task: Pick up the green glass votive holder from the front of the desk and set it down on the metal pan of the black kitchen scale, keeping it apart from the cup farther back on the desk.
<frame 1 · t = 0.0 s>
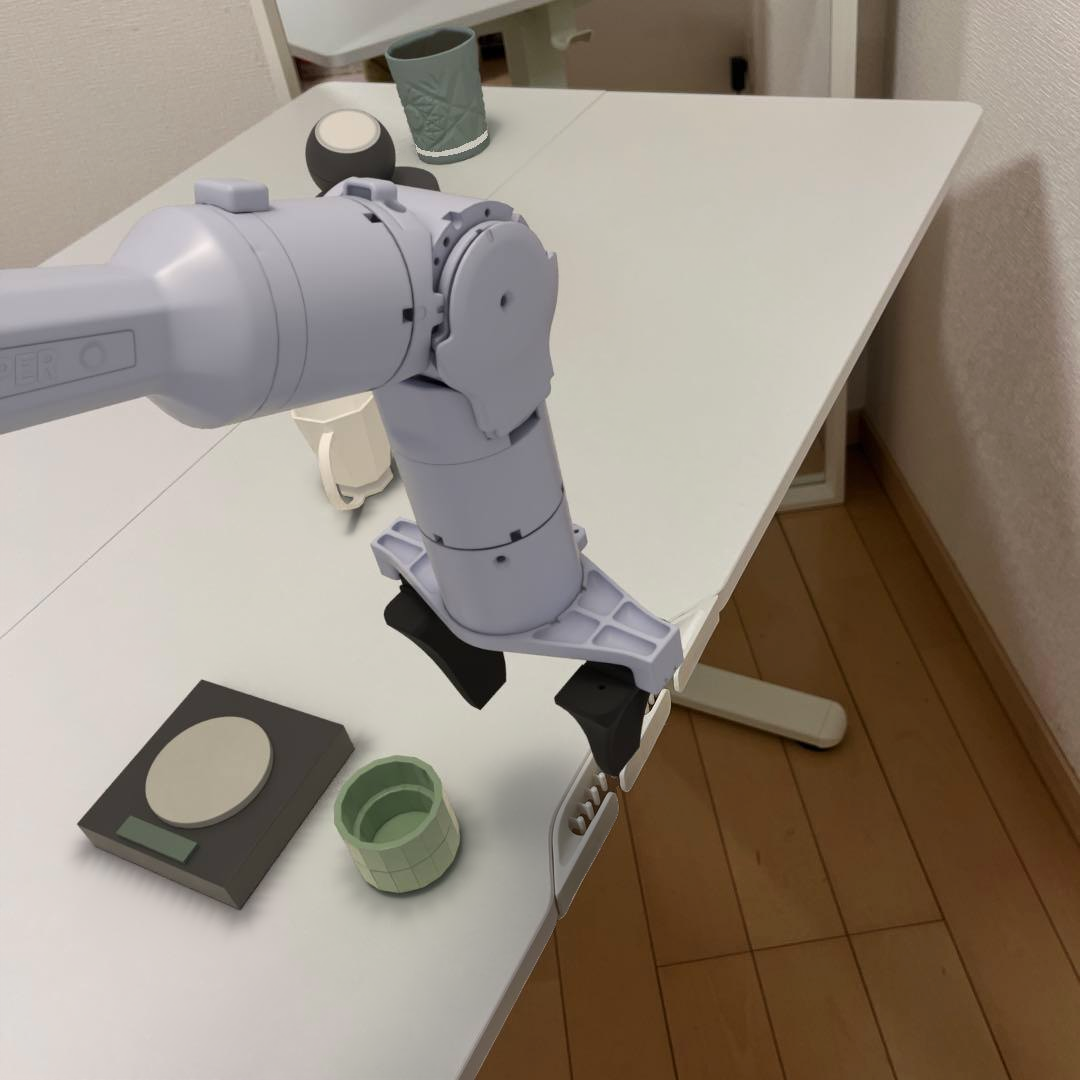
hand: (552, 724, 50), 10 cm above the table, tool pointing down, fingers open, 7 cm apart
scale: (226, 796, 64), on the table
green embossed plant pot: (454, 148, 129), on the table
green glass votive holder: (410, 849, 59), on the table
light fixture: (400, 286, 106), on the table
cup: (362, 494, 83), on the table
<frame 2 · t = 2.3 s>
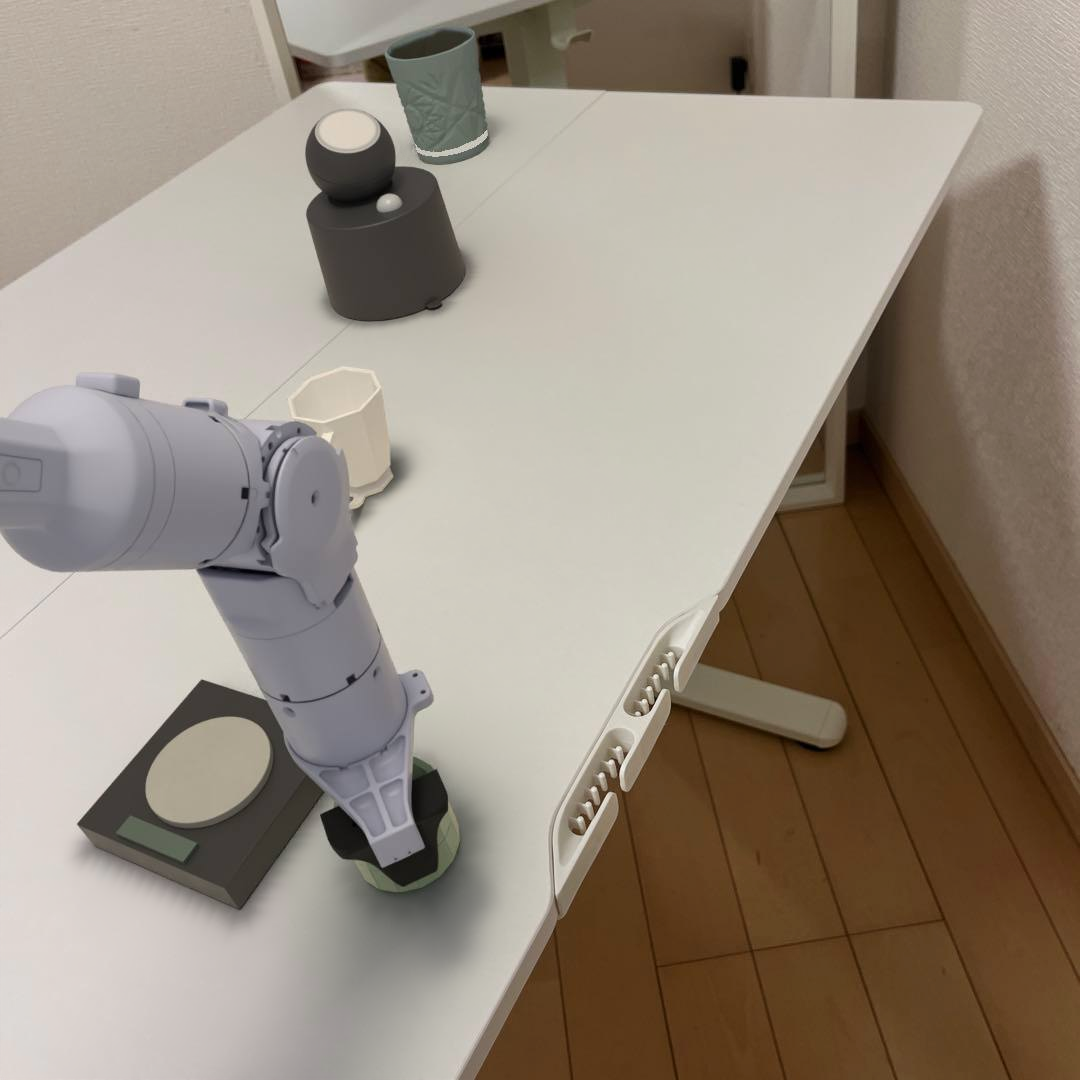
hand: (399, 826, 57), 2 cm above the table, tool pointing down, fingers closed on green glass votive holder, 6 cm apart
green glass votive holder: (410, 849, 59), on the table, touching gripper
everything else where it was.
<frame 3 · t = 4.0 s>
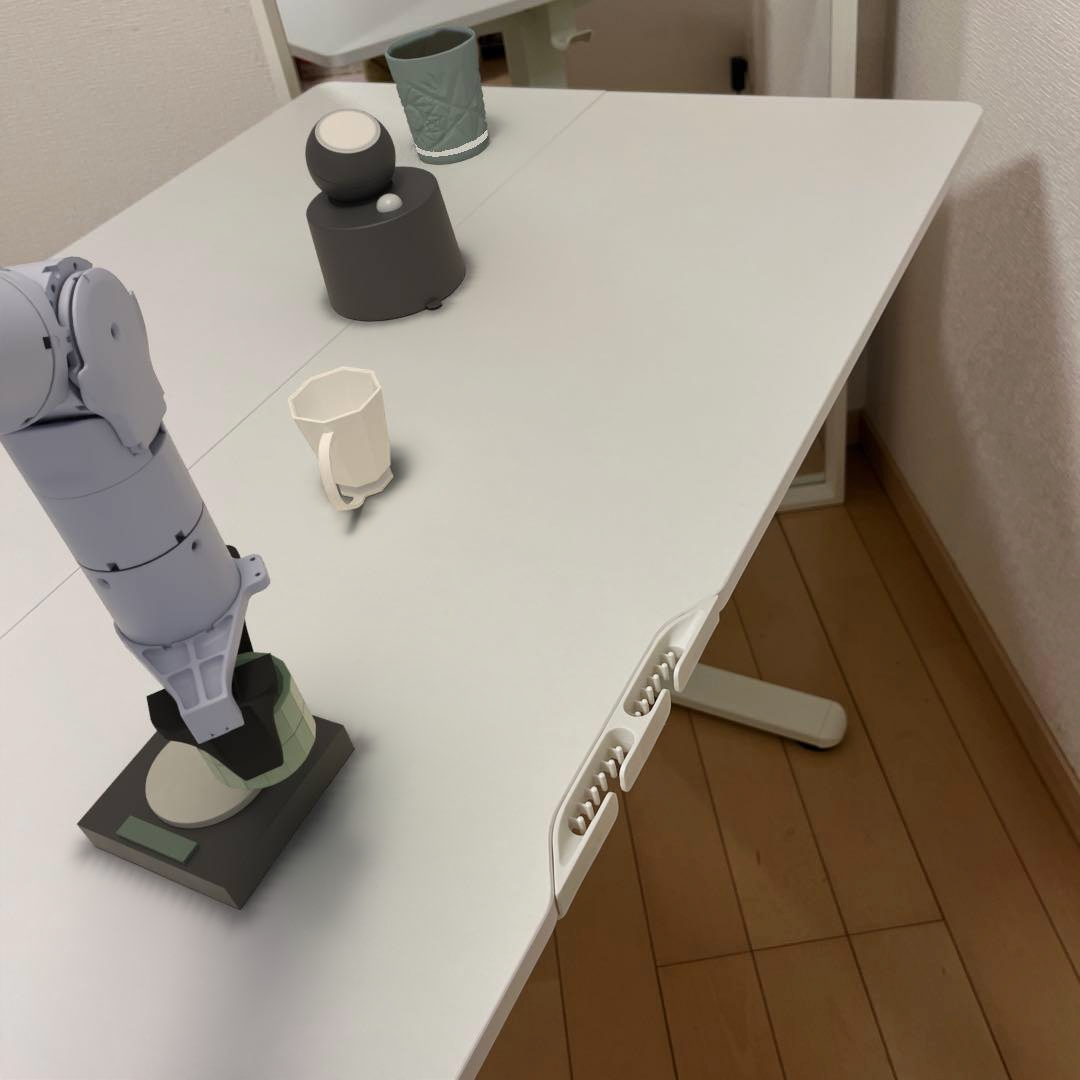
hand: (251, 724, 56), 8 cm above the table, tool pointing down, fingers closed on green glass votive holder, 6 cm apart
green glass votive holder: (266, 750, 57), point 6 cm above the table, touching gripper
everything else where it was.
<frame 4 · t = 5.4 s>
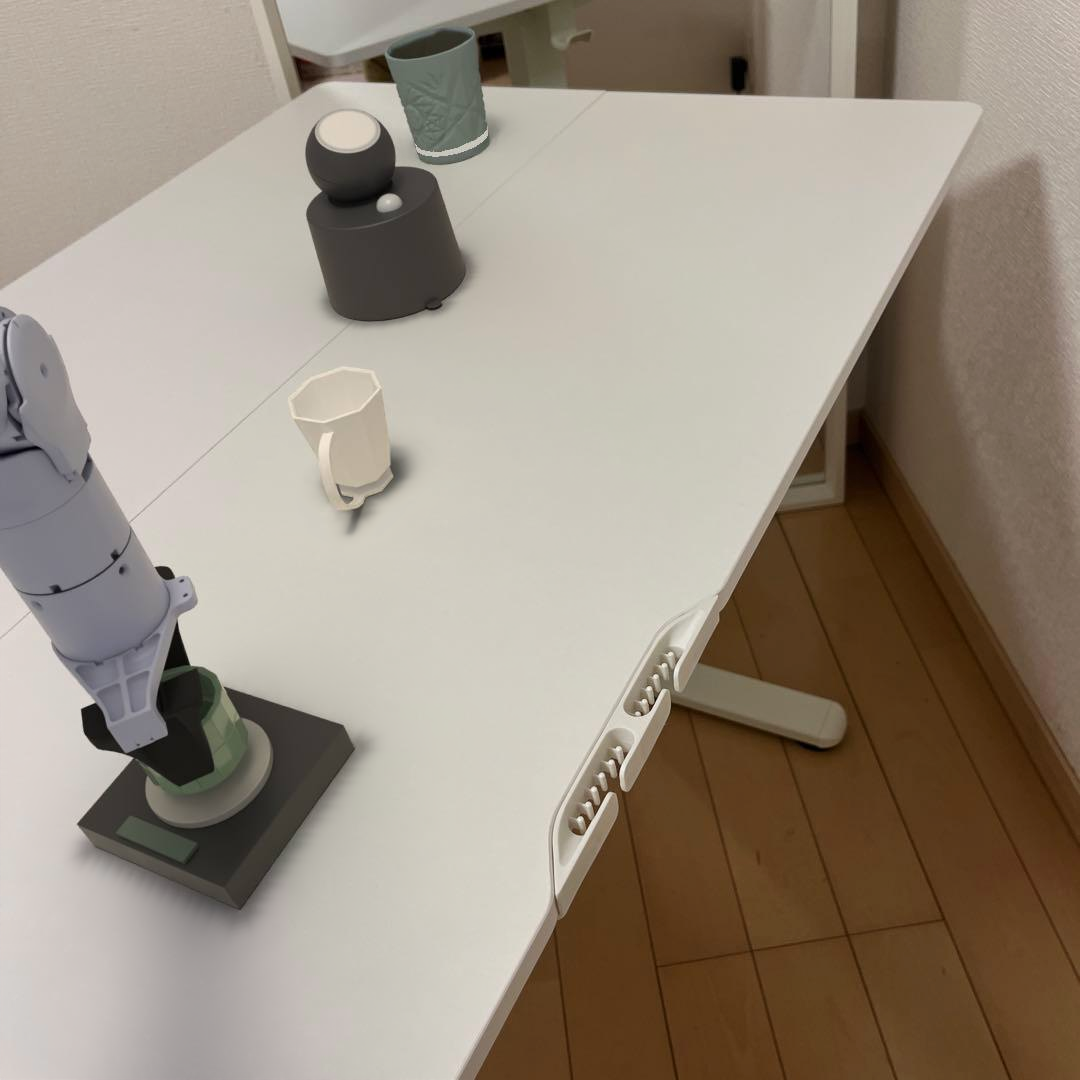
hand: (186, 733, 60), 6 cm above the table, tool pointing down, fingers closed on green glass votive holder, 6 cm apart
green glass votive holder: (202, 757, 61), point 4 cm above the table, touching gripper
everything else where it was.
when the fingers open (5 cm above the table, at t = 6.2 s): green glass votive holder stays where it is, resting on scale.
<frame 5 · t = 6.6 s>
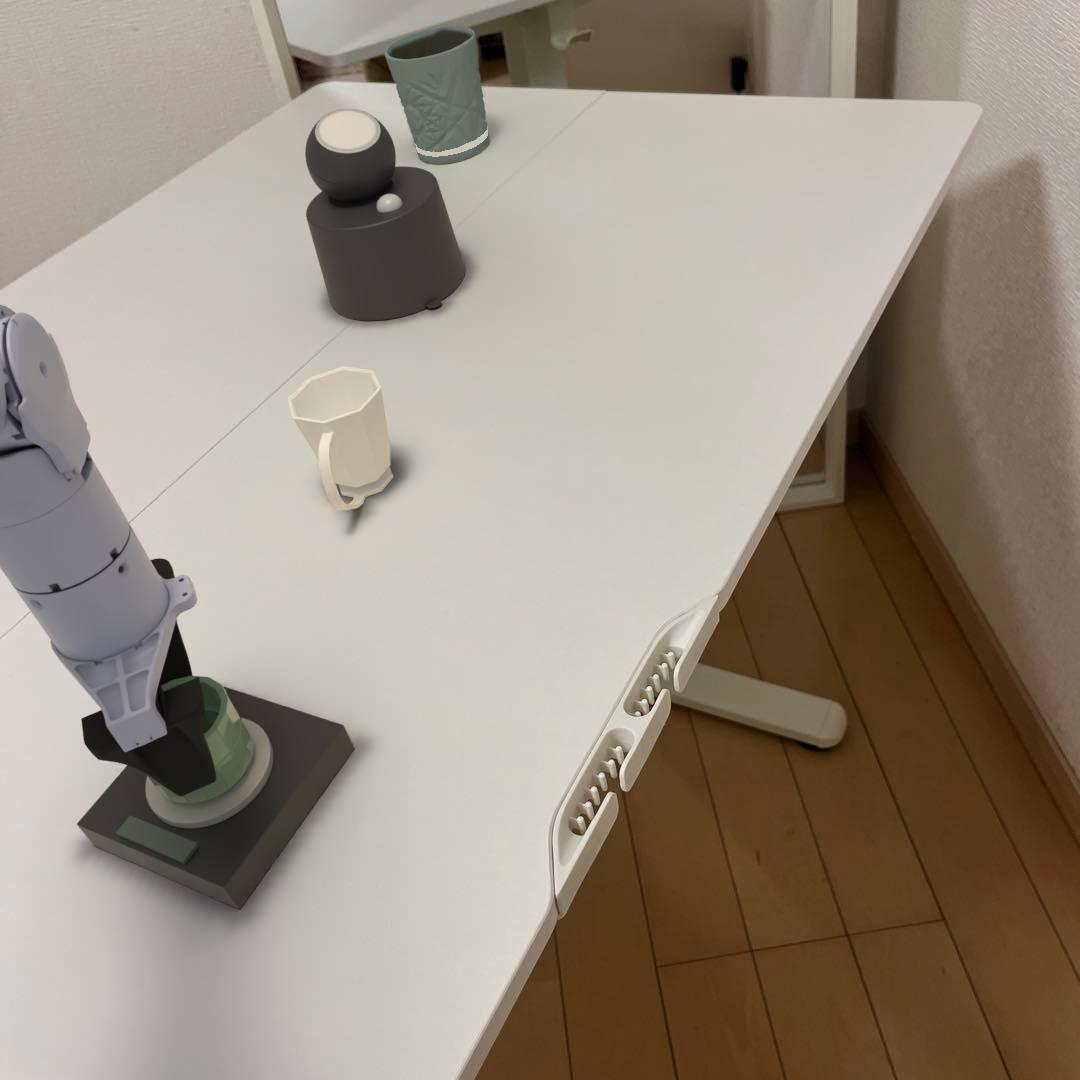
hand: (185, 733, 60), 6 cm above the table, tool pointing down, fingers open, 7 cm apart
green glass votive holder: (208, 766, 62), point 3 cm above the table, touching scale
everything else where it was.
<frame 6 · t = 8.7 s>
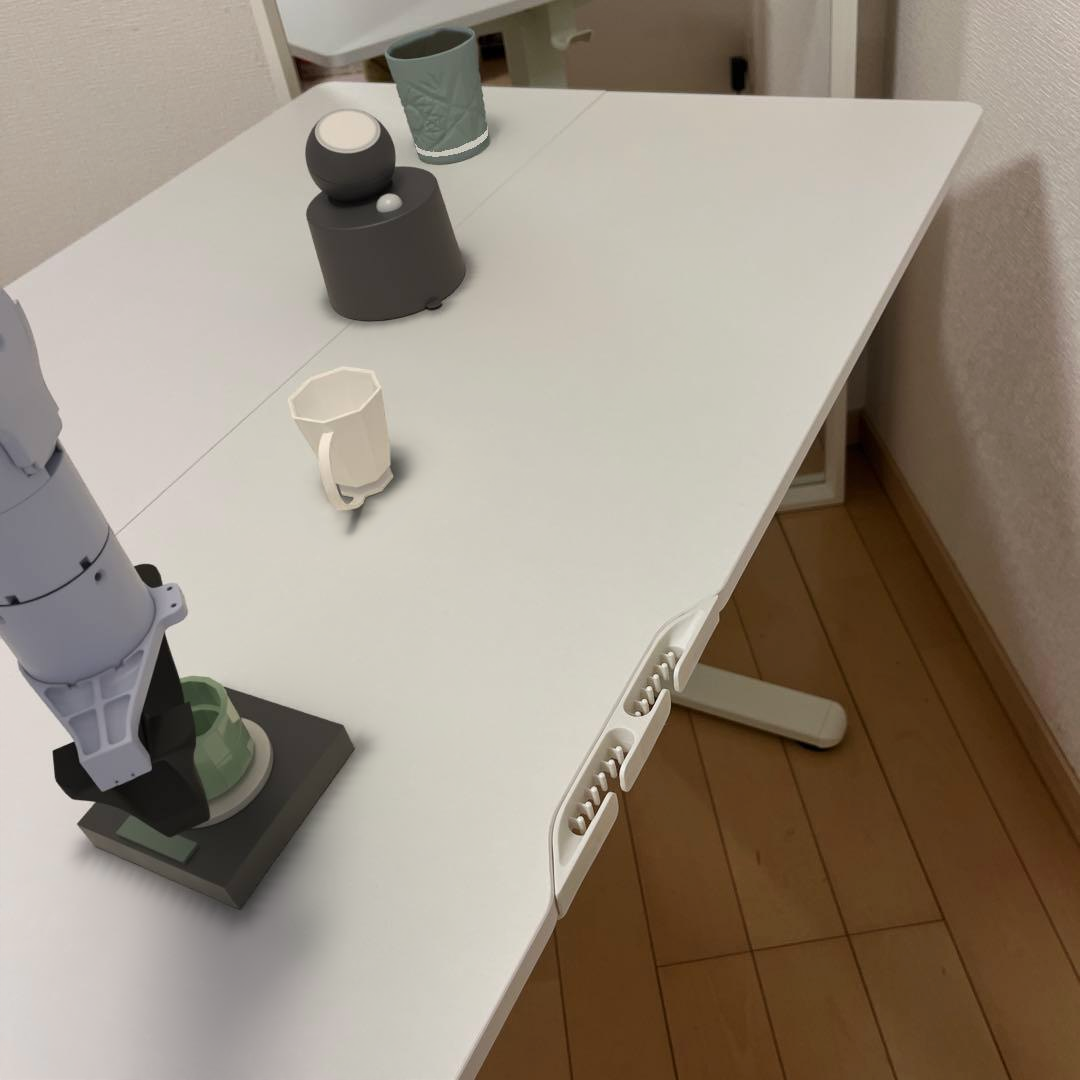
hand: (175, 762, 52), 10 cm above the table, tool pointing down, fingers open, 7 cm apart
nothing on the table moved.
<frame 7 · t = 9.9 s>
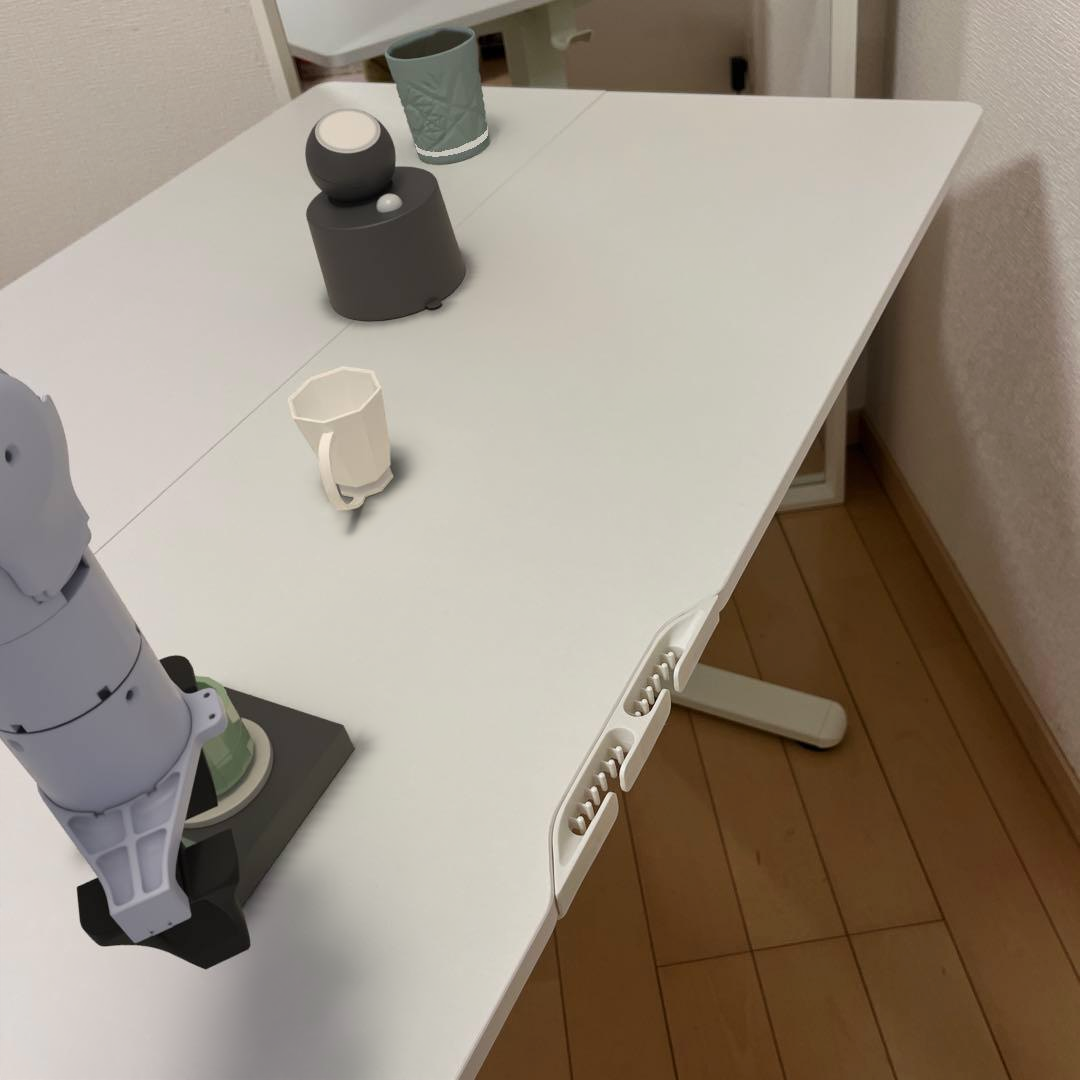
hand: (209, 876, 47), 10 cm above the table, tool pointing down, fingers open, 7 cm apart
nothing on the table moved.
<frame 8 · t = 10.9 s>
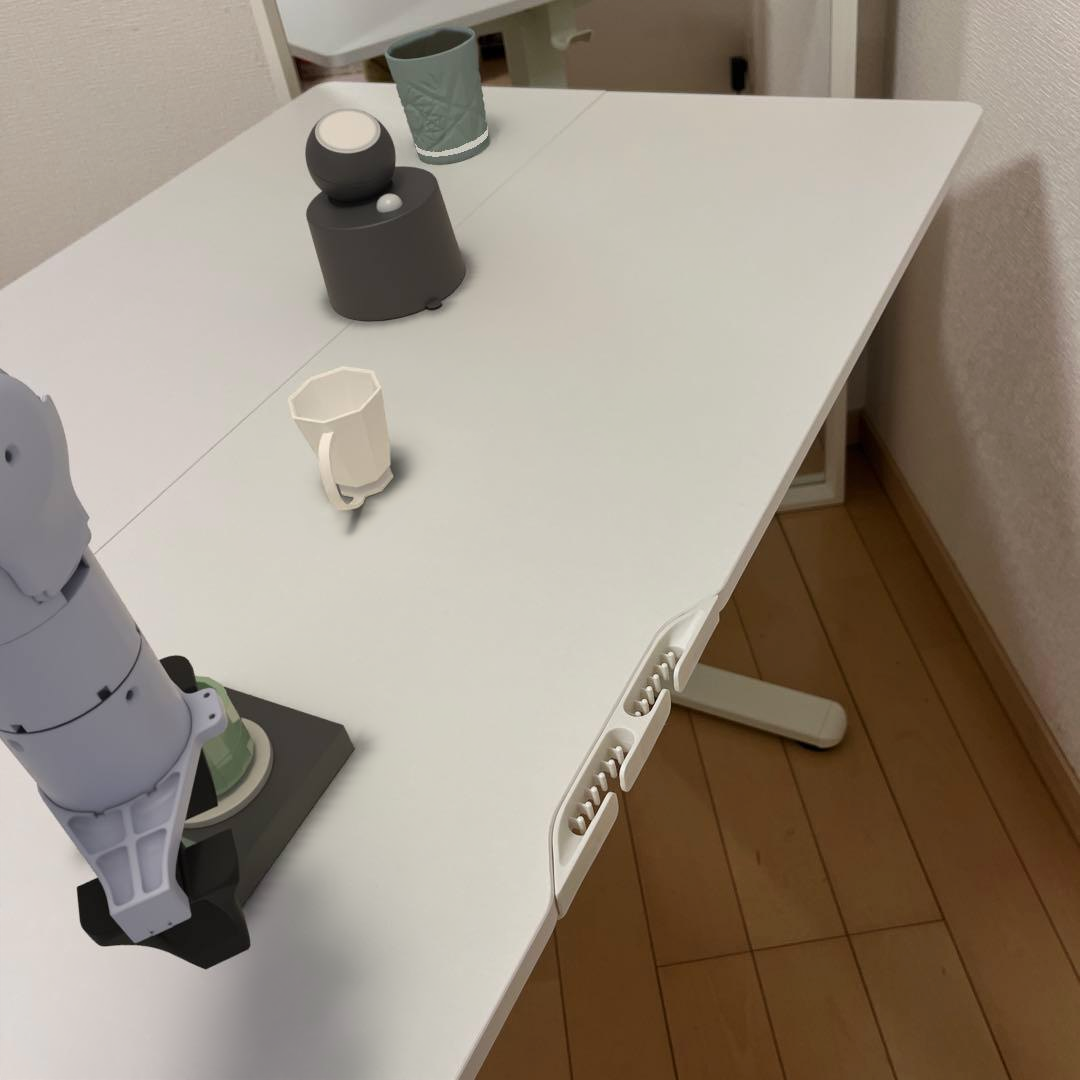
hand: (209, 876, 47), 10 cm above the table, tool pointing down, fingers open, 7 cm apart
nothing on the table moved.
at the end: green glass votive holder 0.0 cm off-centre on the scale, point 2.8 cm above the scale's base; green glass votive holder tilted 0°; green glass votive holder touching scale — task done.
